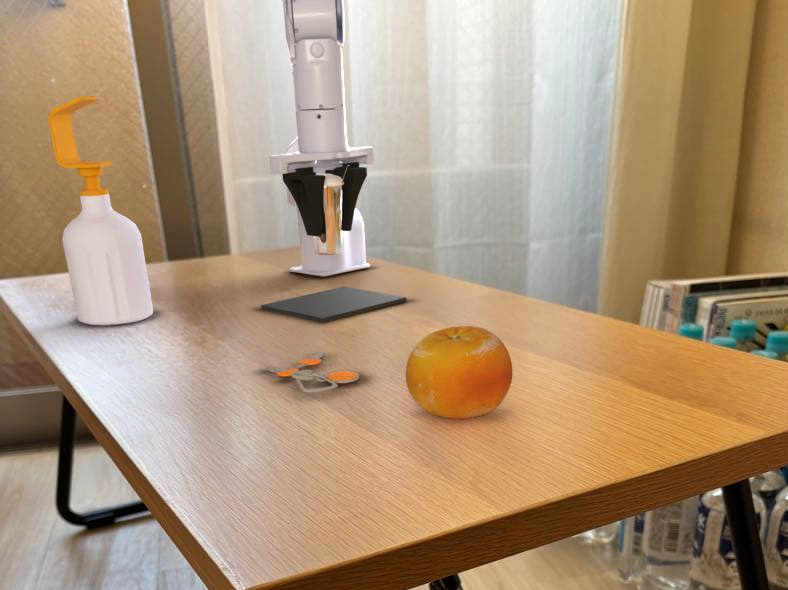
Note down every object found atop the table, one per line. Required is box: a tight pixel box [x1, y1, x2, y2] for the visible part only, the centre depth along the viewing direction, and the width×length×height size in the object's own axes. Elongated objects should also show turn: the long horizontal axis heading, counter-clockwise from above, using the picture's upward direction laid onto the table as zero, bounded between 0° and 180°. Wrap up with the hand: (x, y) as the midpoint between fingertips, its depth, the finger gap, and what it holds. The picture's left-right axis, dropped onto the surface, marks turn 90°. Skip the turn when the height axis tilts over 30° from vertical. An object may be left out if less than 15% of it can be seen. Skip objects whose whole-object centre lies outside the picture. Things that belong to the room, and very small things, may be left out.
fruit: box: [405, 325, 513, 420], centre depth 73 cm, size 8×8×8 cm
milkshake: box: [313, 165, 349, 255], centre depth 108 cm, size 5×5×10 cm
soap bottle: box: [48, 95, 154, 327], centre depth 105 cm, size 9×9×25 cm
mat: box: [260, 286, 408, 323], centre depth 113 cm, size 14×12×1 cm
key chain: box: [265, 350, 360, 394], centre depth 85 cm, size 13×7×1 cm, turn 24°
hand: (329, 233), depth 109 cm, fingers closed on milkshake, 4 cm apart
